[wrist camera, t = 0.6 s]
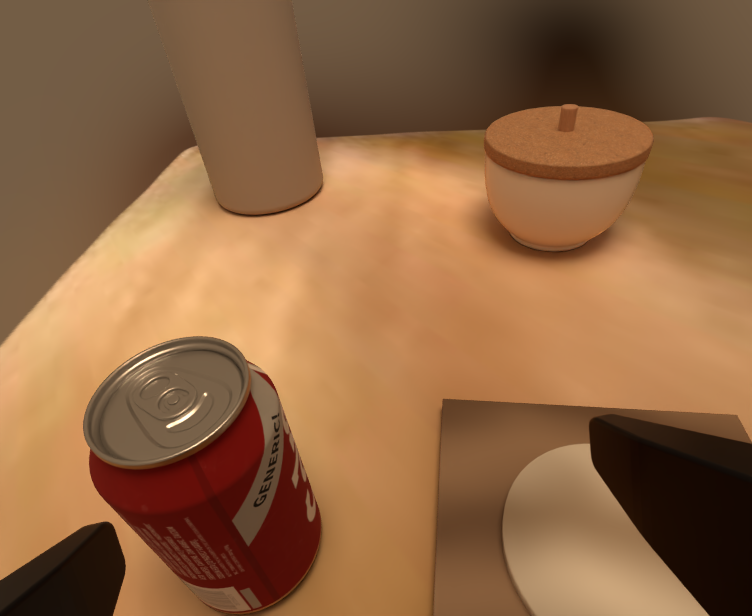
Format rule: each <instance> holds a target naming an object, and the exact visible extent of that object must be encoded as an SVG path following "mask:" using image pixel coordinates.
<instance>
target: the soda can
mask: <svg viewBox="0 0 752 616" xmlns="http://www.w3.org/2000/svg"><path fill="white" fill-rule="evenodd" d="M83 431H84V436H85V439H86V442H87V444H88V446H89V447H90V456H89V467H90V474H91V478H92V481H93V483H94V486H95V488H96V489H97V491H98V493H99V494H100V495H101V496H102V497H103V499H104V500H105V501H106V502H107V503H108V504H109V505H110V506H111V507H112V508H113V509H114V510H115V511H116V512H117V513H118V514H119V515H120V516H121V518H122V519H123V520H124V521H125V522H126V523H127V524H128V525H129V526H130V527H131V528H132V529H133V530H134V531H135V532H136V533H137V534H138V535H139V536H140V537H141V538H142V539H143V541H144V542H145V543H146V544H147V545H148V546H149V547H150V548H151V549H152V550H153V551H154V552H155V553H156V554H157V555H158V556H159V557H160V558H161V559H162V560H163V561H164V562H165V563H166V565H167V566H168V567H169V568H170V569H171V570H172V571H173V572H174V573H175V574H176V575H177V576H178V577H179V578H180V579H181V580H182V581H183V582H184V583H185V584H186V585H187V586H188V588H189V589H190V590H191V591H192V592H193V593H194V594H195V595H196V596H197V597H198V598H199V599H200V600H201V601H202V602H203V603H205V604H206V605H207V606H209V607H211V608H213V609H215V610H217V611H220V612H223V613H229V614H247V613H252V612H256V611H259V610H262V609H265V608H267V607H269V606H271V605H273V604H275V603H277V602H278V601H280V600H281V599H283V598H284V597H285V596H287V595H288V594H289V593H290V592H291V591H292V590H293V589H294V588H295V587H296V586H297V585H298V584H299V583H300V582H301V581H302V579H303V578H304V577H305V575H306V574H307V572H308V571H309V569H310V567H311V565H312V564H313V561H314V559H315V557H316V554H317V551H318V548H319V544H320V539H321V528H322V527H321V516H320V512H319V508H318V505H317V502H316V500H315V497H314V494H313V491H312V488H311V486H310V483H309V480H308V477H307V474H306V472H305V469H304V466H303V463H302V461H301V458H300V455H299V452H298V449H297V447H296V444H295V441H294V438H293V435H292V433H291V430H290V427H289V424H288V421H287V419H286V416H285V413H284V410H283V407H282V405H281V402H280V399H279V396H278V394H277V391H276V388H275V386H274V384H273V382H272V381H271V379H270V378H269V377H268V375H267V374H266V373H265V372H264V371H263V370H261V369H260V368H259V367H258V366H256V365H254V364H253V363H251V362H249V361H247V360H246V359H245V357H244V356H243V354H242V353H241V352H240V351H239V350H238V349H237V348H236V347H235V346H233V345H232V344H230V343H228V342H226V341H224V340H221V339H217V338H213V337H203V336H195V337H185V338H179V339H174V340H170V341H167V342H164V343H161V344H158V345H156V346H153V347H151V348H149V349H146V350H144V351H142V352H141V353H139V354H137V355H135V356H134V357H132V358H130V359H129V360H127V361H126V362H125V363H123V364H122V365H121V366H119V367H118V368H117V369H116V370H115V371H113V372H112V373H111V374H110V375H109V376H108V377H107V378H106V379H105V380H104V381H103V383H102V384H101V385H100V386H99V388H98V389H97V390H96V392H95V393H94V395H93V396H92V398H91V400H90V402H89V404H88V406H87V409H86V412H85V415H84V421H83Z"/></svg>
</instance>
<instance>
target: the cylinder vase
mask: <svg viewBox="0 0 752 616" xmlns="http://www.w3.org/2000/svg"><path fill="white" fill-rule="evenodd" d="M148 3H149V6H150V9H151V12H152V14H153V17H154V20H155V23H156V26H157V29H158V32H159V35H160V38H161V40H162V43H163V46H164V49H165V52H166V55H167V58H168V61H169V64H170V66H171V69H172V72H173V75H174V78H175V81H176V84H177V87H178V90H179V92H180V95H181V98H182V101H183V104H184V107H185V110H186V113H187V115H188V119H189V121H190V124H191V127H192V130H193V133H194V136H195V139H196V142H197V145H198V147H199V150H200V153H201V156H202V159H203V162H204V165H205V168H206V171H207V173H208V176H209V179H210V182H211V185H212V188H213V191H214V194H215V197H216V199H217V201H218V202H219V204H220V205H221V206H223V207H224V208H226V209H227V210H229V211H232V212H235V213H240V214H248V215H260V214H269V213H275V212H279V211H283V210H287V209H290V208H292V207H295V206H297V205H299V204H302V203H303V202H305V201H307V200H308V199H310V198H311V197H312V196H314V195H315V194H316V193H317V191H318V190H319V189H320V187H321V185H322V181H323V174H322V169H321V163H320V157H319V152H318V146H317V140H316V135H315V130H314V123H313V118H312V113H311V106H310V101H309V95H308V90H307V84H306V78H305V73H304V67H303V61H302V56H301V50H300V44H299V39H298V33H297V27H296V22H295V16H294V10H293V5H292V0H148Z"/></svg>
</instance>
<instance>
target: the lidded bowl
mask: <svg viewBox="0 0 752 616" xmlns="http://www.w3.org/2000/svg"><path fill="white" fill-rule="evenodd" d="M653 142H654V140H653V134H652V132H651V131H650V129H649V128H648V127H647V126H646V125H645V124H643V123H642V122H640V121H638V120H636V119H634V118H632V117H630V116H627V115H624V114H621V113H617V112H614V111H609V110H604V109H598V108H590V107H578V106H577V105H574V104H566V105H563V106H554V107H541V108H535V109H528V110H523V111H519V112H515V113H512V114H509V115H506V116H504V117H502V118H500V119H498V120H496V121H495V122H493V123H492V124H491V125H490V126H489V128H488V129H487V130H486V132H485V139H484V149H485V185H486V191H487V196H488V201H489V204H490V206H491V209H492V211H493V213H494V215H495V216H496V218H497V219H498V221H499V222H500V223H501V224H502V225H503V226H504V227H505V229H507V230H508V231H509V233H510V235H511V236H512V237H513V238H514V239H515V240H516V241H517V242H519V243H520V244H522V245H524V246H527V247H529V248H532V249H536V250H541V251H551V252H558V251H568V250H572V249H575V248H578V247H580V246H582V245H584V244H585V243H586V242H587V241H588V240H590V239H592V238H594V237H596V236H597V235H599V234H601V233H602V232H604V231H605V230H606V229H608V228H609V227H610V226H611V225H612V224H613V223H614V222H615V221H616V220H617V219H618V218H619V216H620V215H621V214H622V213H623V212H624V210H625V209H626V207H627V205H628V204H629V202H630V200H631V198H632V196H633V194H634V192H635V190H636V188H637V185H638V183H639V180H640V177H641V174H642V171H643V168H644V165H645V161H646V159H647V158H648V156H649V154H650V151H651V148H652V145H653Z"/></svg>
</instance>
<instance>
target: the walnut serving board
mask: <svg viewBox="0 0 752 616" xmlns="http://www.w3.org/2000/svg"><path fill="white" fill-rule="evenodd" d="M605 414H616V415H621V416H626V417H630V418H635V419H640V420H644V421H649V422H654V423H658V424H663V425H668V426H672V427H677V428H682V429H686V430H691V431H696V432H700V433H705V434H709V435H714V436H719V437H723V438H728V439H733V440H737V441H742V442H747V443H751V444H752V442H751V440H750V439H749V437H748V435H747V433H746V431H745V429H744V427H743V425H742V423H741V422H740V420H739V418H738V416H737V415H728V414H710V413H692V412H674V411H655V410H637V409H619V408H601V407H583V406H564V405H546V404H528V403H510V402H492V401H473V400H455V399H443V405H442V428H441V452H440V475H439V498H438V521H437V544H436V567H435V591H434V614H433V616H709V615H708V614H707V612H706V611H705V610H704V609H703V608H702V607H701V605H700V604H699V603H698V602H697V601H696V600H695V598H694V597H693V596H692V595H691V594H690V592H689V591H688V590H687V589H686V588H685V587H684V585H683V584H682V583H681V582H680V581H679V580H678V578H677V577H676V576H675V575H674V574H673V572H672V571H671V570H670V569H669V568H668V567H667V565H666V564H665V563H664V562H663V561H662V560H661V558H660V557H659V556H658V555H657V554H656V552H655V551H654V550H653V549H652V548H651V546H650V545H649V544H648V543H647V542H646V540H645V539H644V538H643V537H642V535H641V534H640V533H639V531H638V530H637V528H636V527H635V526H634V524H633V523H632V521H631V520H630V519H629V517H628V516H627V514H626V513H625V511H624V510H623V508H622V507H621V506H620V504H619V503H618V501H617V500H616V498H615V497H614V496H613V494H612V493H611V491H610V490H609V488H608V487H607V485H606V484H605V483H604V481H603V480H602V478H601V477H600V475H599V474H598V472H597V471H596V469H595V468H594V465H593V463H592V459H591V452H590V438H589V421H590V420H591V418H593V417H596V416H600V415H605Z"/></svg>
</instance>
